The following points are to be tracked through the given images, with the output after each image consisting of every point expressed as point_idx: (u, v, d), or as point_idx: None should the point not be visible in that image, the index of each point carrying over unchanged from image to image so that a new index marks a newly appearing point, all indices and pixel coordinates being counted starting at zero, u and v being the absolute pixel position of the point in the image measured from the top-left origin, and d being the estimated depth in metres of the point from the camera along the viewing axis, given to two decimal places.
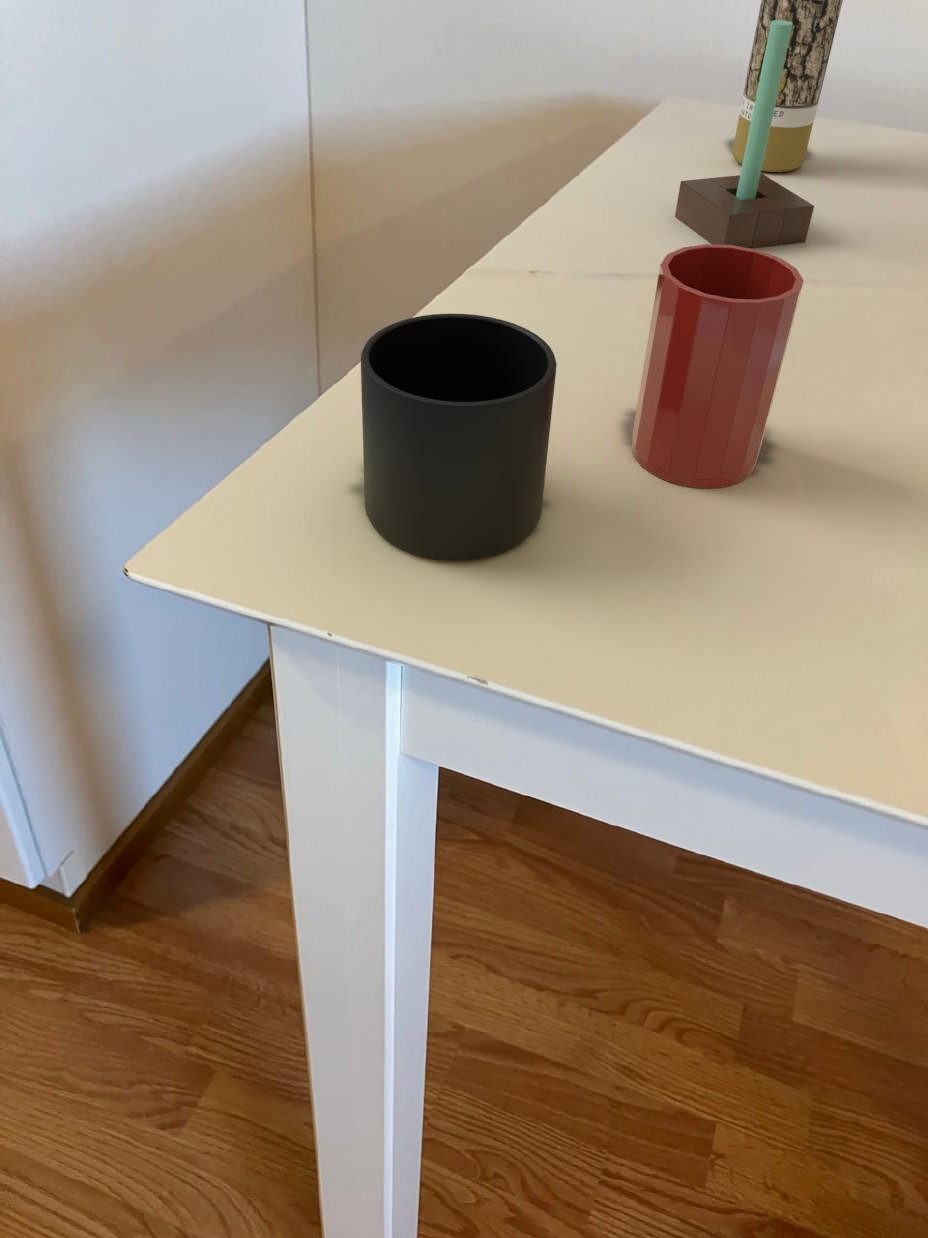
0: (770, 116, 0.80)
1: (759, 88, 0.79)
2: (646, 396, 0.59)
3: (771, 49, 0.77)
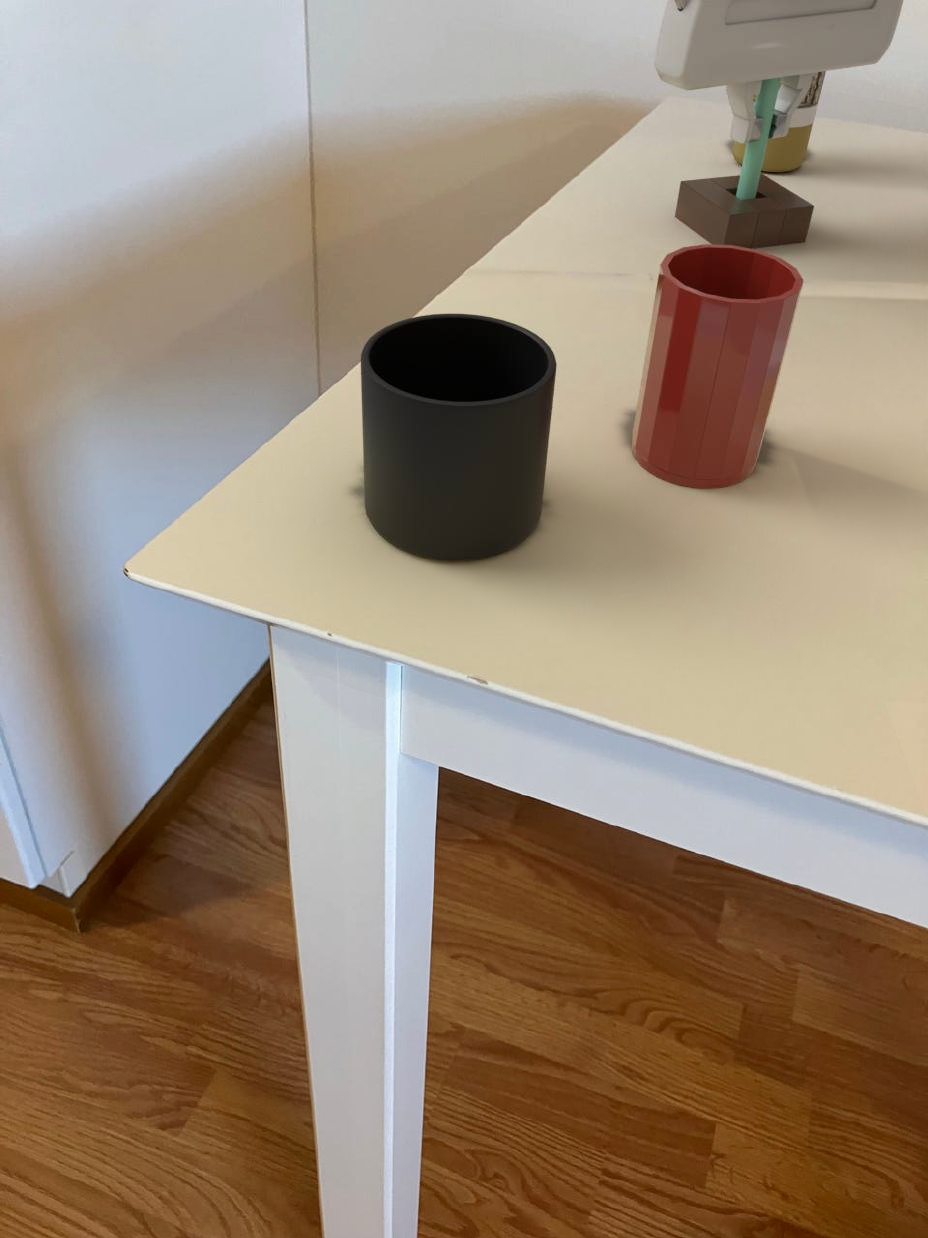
0: (770, 116, 0.80)
1: None
2: (646, 396, 0.59)
3: None
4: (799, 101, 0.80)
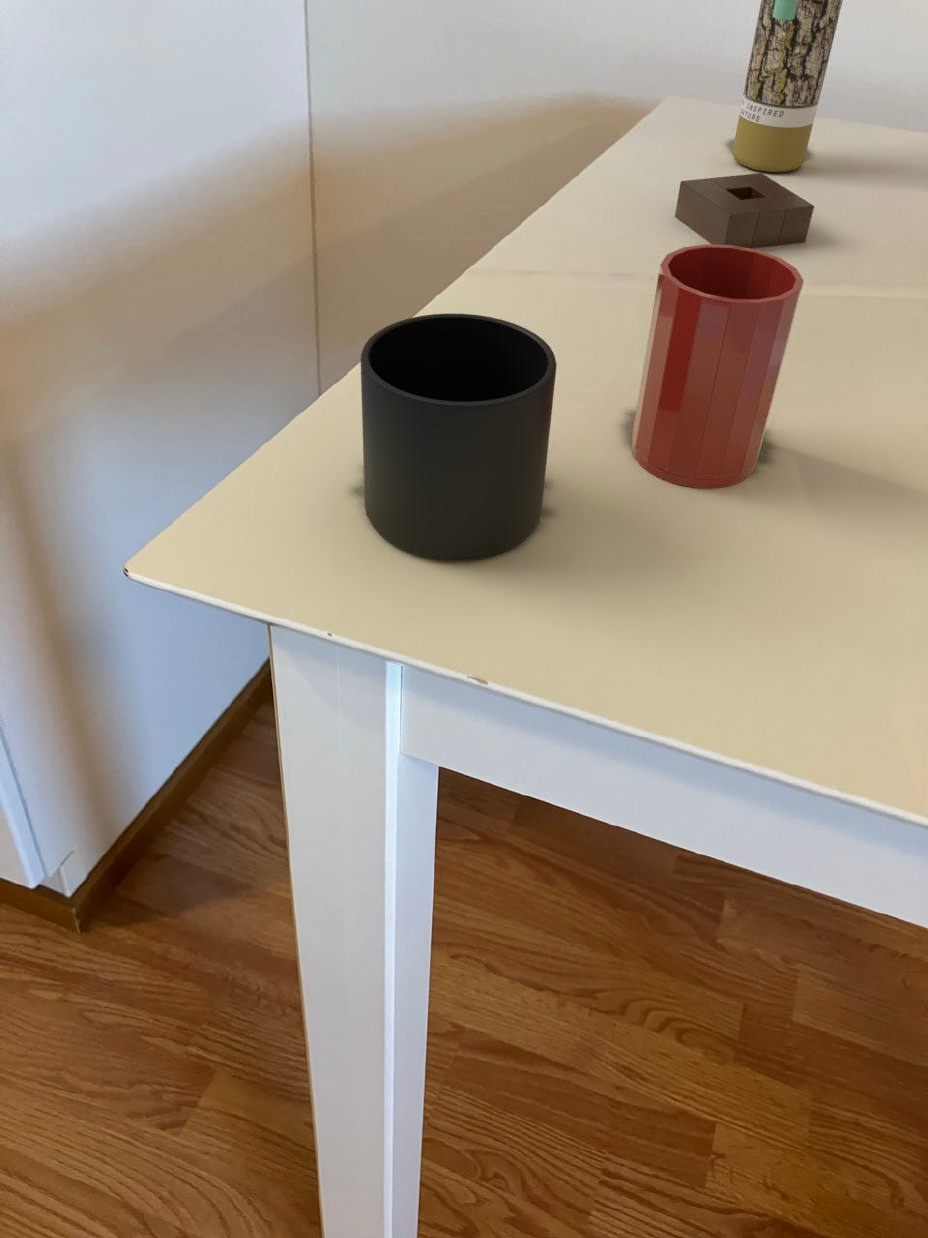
0: None
1: None
2: (646, 396, 0.59)
3: None
4: None
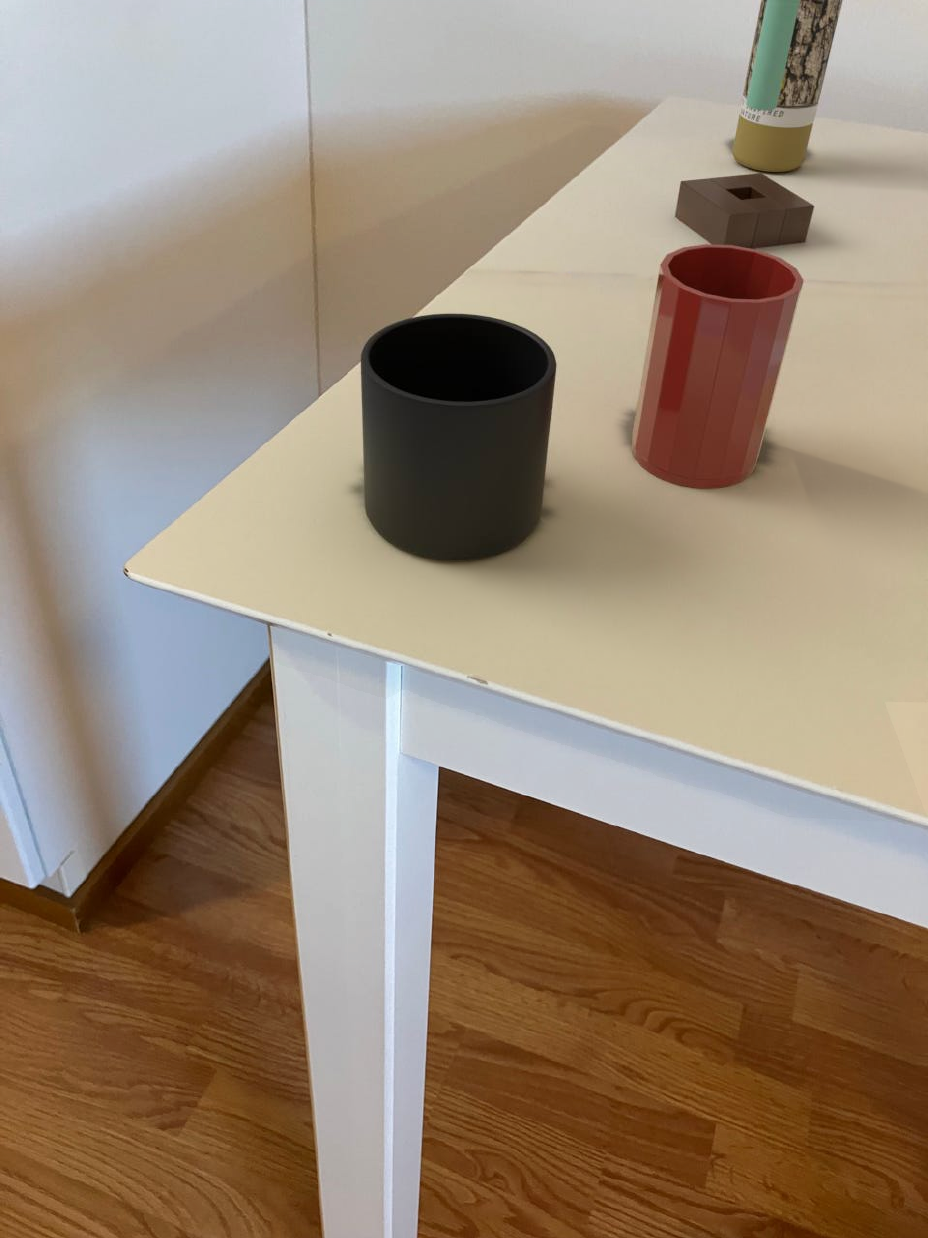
0: None
1: None
2: (646, 396, 0.59)
3: None
4: None
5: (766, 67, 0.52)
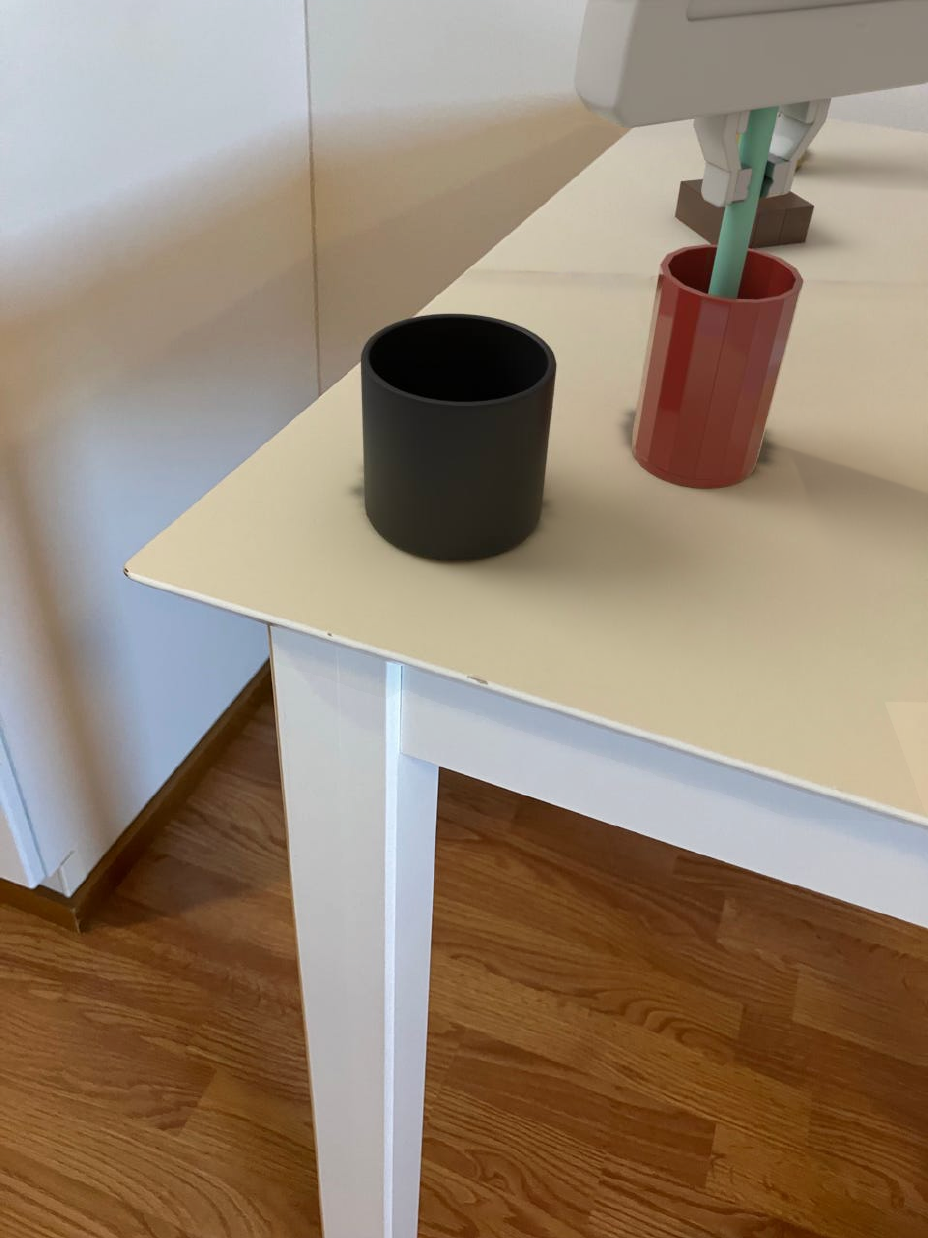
0: (762, 164, 0.51)
1: None
2: (646, 396, 0.59)
3: None
4: (808, 142, 0.51)
5: None
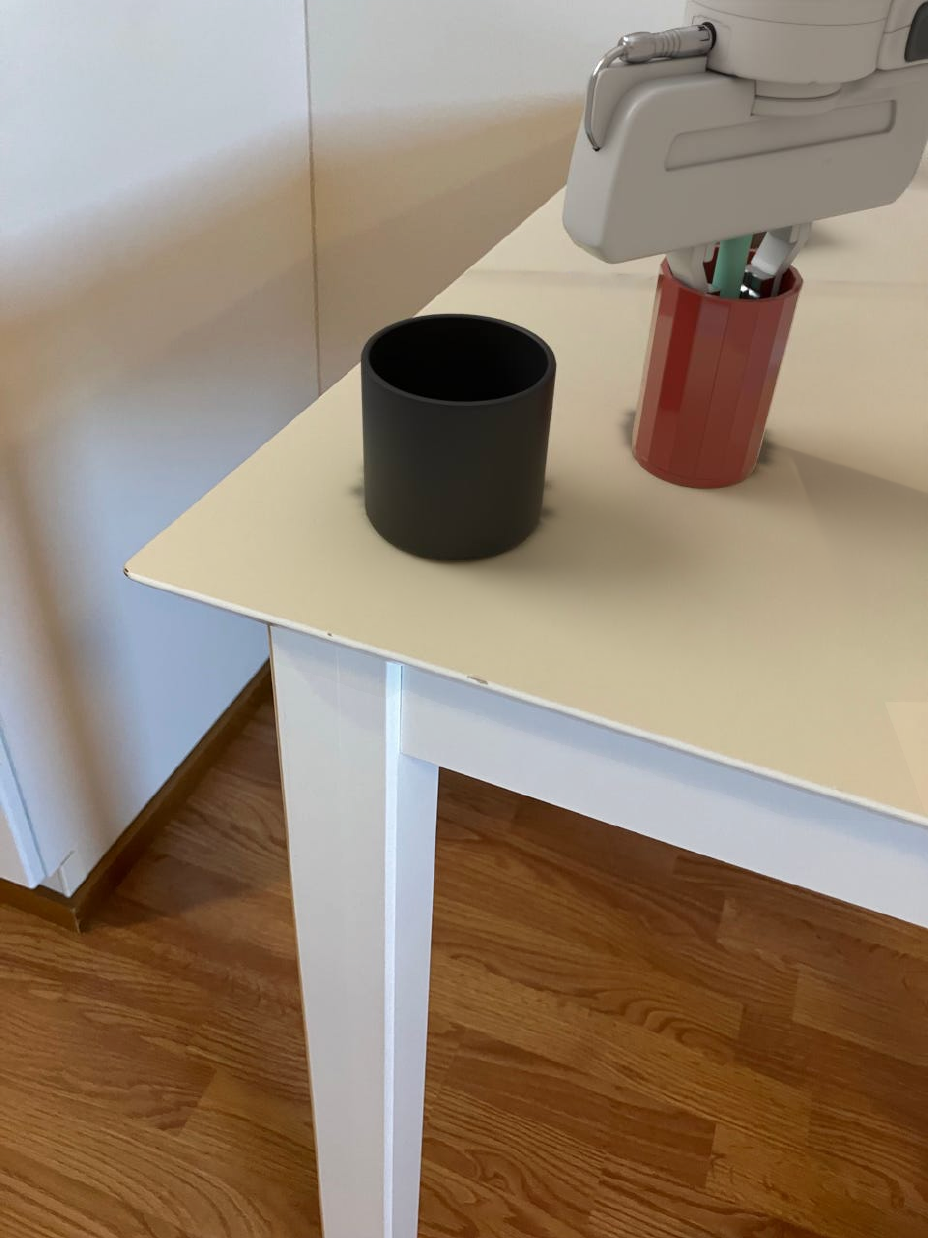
0: (738, 286, 0.55)
1: (721, 248, 0.54)
2: (646, 396, 0.59)
3: None
4: (792, 258, 0.55)
5: None
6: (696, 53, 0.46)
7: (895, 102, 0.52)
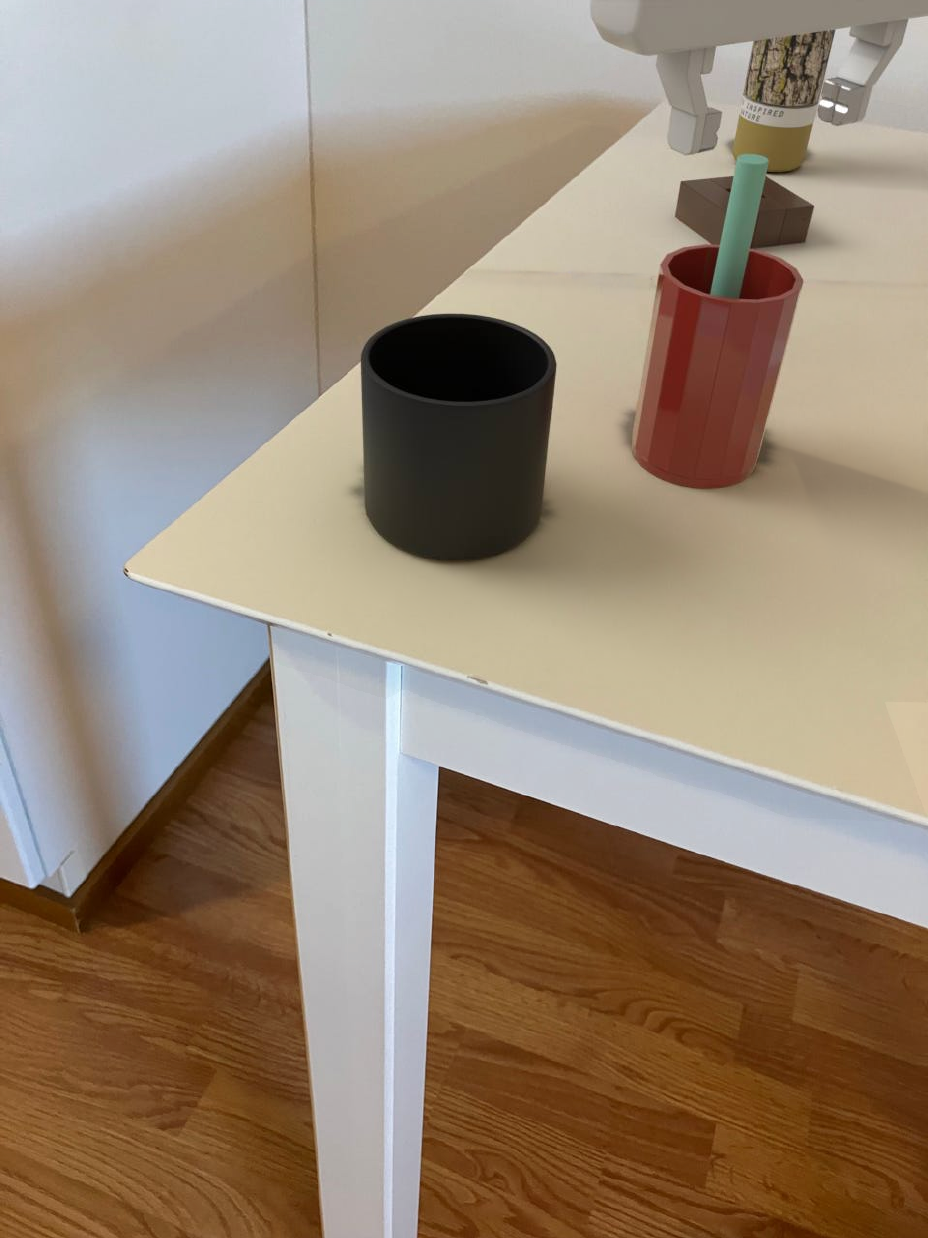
0: (738, 286, 0.55)
1: (721, 248, 0.54)
2: (646, 396, 0.59)
3: (738, 196, 0.52)
4: (884, 66, 0.51)
5: None
6: None
7: None
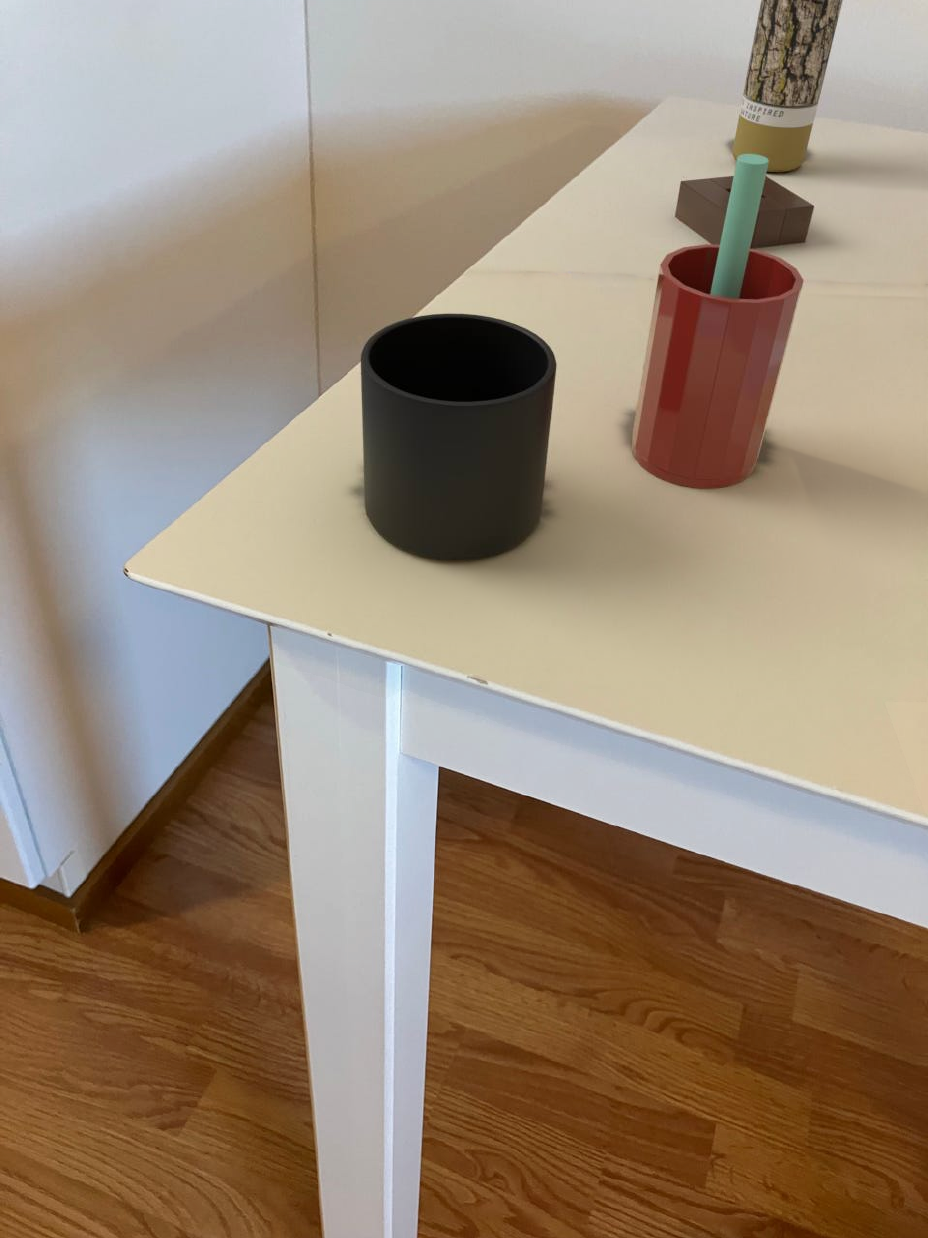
0: (738, 286, 0.55)
1: (721, 248, 0.54)
2: (646, 396, 0.59)
3: (738, 196, 0.52)
4: None
5: None
6: None
7: None
